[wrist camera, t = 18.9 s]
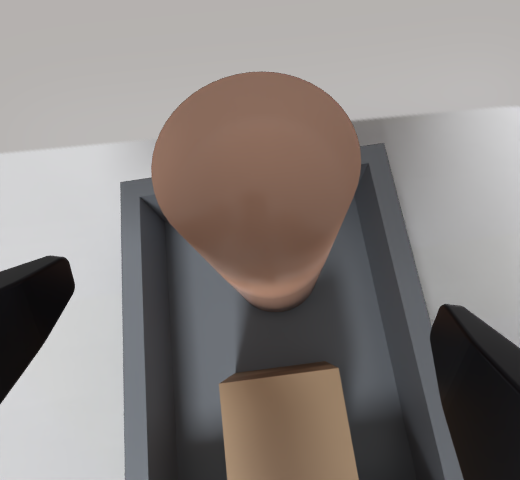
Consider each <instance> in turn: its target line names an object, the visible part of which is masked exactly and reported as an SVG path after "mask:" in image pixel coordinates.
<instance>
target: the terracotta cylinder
mask: <svg viewBox="0 0 520 480" xmlns="http://www.w3.org/2000/svg"><path fill="white" fill-rule="evenodd" d="M151 170H152V183H153V189H154V193H155V196H156V199H157V202H158V204H159V206H160V208H161V210H162V212H163V214H164V216H165V217H166V218H167V220H168V221H169V223H170V224H171V225H172V226H173V227H174V228H175V229H176V230H177V232H178V233H179V234H180V235H181V236H182V237H183V238H184V239H185V240H186V241H187V242H188V243H189V244H190V245H191V246H192V247H193V248H194V249H195V250H196V251H197V252H198V253H199V254H200V255H201V256H202V257H203V258H204V259H205V260H206V261H207V262H208V263H209V264H210V265H211V266H212V267H213V268H214V269H215V270H216V271H217V272H218V273H219V274H220V275H221V276H222V277H223V278H224V279H225V280H226V281H227V282H228V283H229V284H230V285H231V286H232V287H233V288H234V289H235V290H236V291H237V292H238V293H239V294H240V295H241V296H242V297H243V298H244V299H245V300H246V301H247V302H249V303H250V304H251V305H253V306H254V307H256V308H258V309H260V310H263V311H267V312H284V311H288V310H291V309H293V308H295V307H297V306H299V305H300V304H302V303H303V302H304V301H305V300H306V299H307V298H308V297H309V296H310V294H311V293H312V291H313V289H314V287H315V285H316V283H317V280H318V278H319V276H320V273H321V271H322V269H323V266H324V264H325V262H326V259H327V257H328V255H329V253H330V250H331V248H332V246H333V243H334V241H335V239H336V236H337V234H338V232H339V229H340V227H341V225H342V222H343V220H344V218H345V215H346V213H347V211H348V209H349V206H350V204H351V202H352V199H353V197H354V194H355V191H356V189H357V186H358V182H359V177H360V170H361V152H360V146H359V141H358V137H357V134H356V132H355V129H354V127H353V124H352V123H351V121H350V119H349V117H348V116H347V114H346V113H345V112H344V110H343V109H342V108H341V106H340V105H339V104H338V103H337V102H336V101H335V100H334V99H333V98H332V97H331V96H330V95H328V94H327V93H326V92H324V91H323V90H322V89H320V88H318V87H317V86H315V85H313V84H311V83H310V82H307V81H305V80H302V79H300V78H297V77H294V76H290V75H286V74H281V73H274V72H249V73H242V74H236V75H233V76H229V77H225V78H222V79H220V80H217V81H215V82H212V83H210V84H208V85H207V86H205V87H203V88H201V89H199V90H198V91H196V92H195V93H193V94H192V95H191V96H190V97H188V98H187V99H186V100H185V101H184V102H182V103H181V104H180V105H179V107H178V108H177V109H176V110H175V111H174V112H173V113H172V115H171V116H170V117H169V119H168V120H167V121H166V123H165V125H164V127H163V129H162V130H161V132H160V134H159V137H158V139H157V142H156V144H155V148H154V152H153V158H152V166H151Z"/></svg>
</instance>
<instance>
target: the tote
mask: <svg viewBox="0 0 520 480" xmlns="http://www.w3.org/2000/svg"><path fill="white" fill-rule="evenodd" d="M360 152H361V170H360V177H359V182H358V186H357V189H356V191H355V194H354V197H353V199H352V202H351V204H350V206H349V209H348V211H347V213H346V215H345V218H344V220H343V222H342V225H341V227H340V229H339V232H338V234H337V236H336V239H335V241H334V243H333V246H332V248H331V250H330V253H329V255H328V257H327V259H326V262H325V264H324V266H323V269H322V271H321V273H320V276H319V278H318V280H317V283H316V285H315V287H314V289H313V291H312V293H311V294H310V296H309V297H308V298H307V299H306V300H305V301H304V302H303V303H302V304H300V305H299V306H297V307H295V308H293V309H291V310H288V311H284V312H267V311H263V310H260V309H258V308H256V307H254V306H253V305H251V304H250V303H249V302H247V301H246V300H245V299H244V298H243V297H242V296H241V295H240V294H239V293H238V292H237V291H236V290H235V289H234V288H233V287H232V286H231V285H230V284H229V283H228V282H227V281H226V280H225V279H224V278H223V277H222V276H221V275H220V274H219V273H218V272H217V271H216V270H215V269H214V268H213V267H212V266H211V265H210V264H209V263H208V262H207V261H206V260H205V259H204V258H203V257H202V256H201V255H200V254H199V253H198V252H197V251H196V250H195V249H194V248H193V247H192V246H191V245H190V244H189V243H188V242H187V241H186V240H185V239H184V238H183V237H182V236H181V235H180V234H179V233H178V232H177V230H176V229H175V228H174V227H173V226H172V225H171V224H170V223H169V221H168V220H167V218H166V217H165V216H164V214H163V212H162V210H161V208H160V206H159V204H158V202H157V199H156V196H155V193H154V189H153V183H152V178H145V179H139V180H132V181H125V182H120V188H121V252H122V316H123V379H124V443H125V480H227V471H226V459H225V448H224V436H223V425H222V414H221V402H220V391H219V383H221V382H222V381H224V380H225V379H227V378H228V377H230V376H231V375H233V374H234V373H238V372H246V371H254V370H261V369H269V368H277V367H284V366H292V365H300V364H307V363H315V362H322V361H326V362H328V363H330V364H332V365H334V366H336V367H338V368H339V373H340V378H341V384H342V389H343V395H344V401H345V406H346V412H347V417H348V423H349V428H350V434H351V439H352V445H353V451H354V456H355V462H356V467H357V473H358V478H359V480H464V479H463V476H462V472H461V469H460V466H459V462H458V459H457V456H456V452H455V449H454V446H453V442H452V439H451V436H450V432H449V429H448V425H447V422H446V419H445V415H444V412H443V408H442V404H441V399H440V395H439V389H438V383H437V378H436V372H435V366H434V361H433V355H432V349H431V344H430V332H431V329H432V327H431V323H430V319H429V315H428V311H427V307H426V304H425V300H424V296H423V292H422V288H421V284H420V280H419V277H418V273H417V269H416V265H415V261H414V257H413V253H412V250H411V246H410V242H409V238H408V234H407V230H406V226H405V223H404V219H403V215H402V211H401V207H400V203H399V199H398V196H397V192H396V188H395V184H394V180H393V176H392V172H391V169H390V165H389V161H388V157H387V153H386V149H385V145H384V143H380V144H374V145H367V146H360Z"/></svg>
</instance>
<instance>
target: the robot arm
mask: <svg viewBox="0 0 520 480" xmlns="http://www.w3.org/2000/svg"><path fill="white" fill-rule="evenodd" d="M74 289H75V283H74V279H73V275H72V271H71V268H70V264H69V261H68V260H67V259H66V258H64V257H58V256H46V257H43V258H40V259H37V260H34V261H31V262H28V263H25V264H22V265H19V266H16V267H13V268H10V269H7V270H4V271H1V272H0V404H1V403H2V401H3V400H4V398H5V397H6V396H7V394H8V393H9V392H10V390H11V389H12V387H13V386H14V385H15V383H16V382H17V380H18V379H19V378H20V376H21V375H22V374H23V372H24V371H25V369H26V368H27V367H28V365H29V364H30V363H31V361H32V360H33V358H34V357H35V356H36V354H37V353H38V351H39V350H40V348H41V347H42V346H43V344H44V342H45V341H46V339H47V338H48V336H49V334H50V332H51V331H52V329H53V327H54V326H55V324H56V322H57V320H58V319H59V317H60V315H61V314H62V312H63V310H64V308H65V307H66V305H67V303H68V302H69V300H70V298H71V296H72V295H73V292H74ZM430 344H431V349H432V355H433V361H434V366H435V372H436V378H437V383H438V389H439V395H440V399H441V404H442V408H443V412H444V415H445V419H446V422H447V425H448V429H449V432H450V436H451V439H452V442H453V446H454V449H455V452H456V456H457V459H458V462H459V466H460V469H461V472H462V476H463V479H464V480H520V348H519V347H517V346H516V345H515V344H513V343H512V342H511V341H509V340H508V339H507V338H505V337H504V336H502V335H501V334H500V333H498V332H497V331H496V330H494V329H493V328H492V327H490V326H489V325H488V324H486V323H485V322H483V321H482V320H481V319H479V318H478V317H477V316H475V315H474V314H473V313H471V312H470V311H468V310H467V309H466V308H464V307H463V306H458V305H450V304H444V305H442V306H441V307H440V308H439V311H438V313H437V316H436V318H435V321H434V324H433V326H432V329H431V332H430Z"/></svg>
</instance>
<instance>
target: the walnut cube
mask: <svg viewBox="0 0 520 480" xmlns="http://www.w3.org/2000/svg"><path fill="white" fill-rule="evenodd" d="M219 391H220V402H221V414H222V425H223V436H224V448H225V459H226V471H227V480H359V478H358V473H357V467H356V462H355V456H354V451H353V445H352V439H351V434H350V428H349V423H348V417H347V412H346V406H345V401H344V395H343V389H342V384H341V378H340V373H339V368H338V367H336V366H334V365H332V364H330V363H328V362H326V361H322V362H315V363H307V364H300V365H292V366H284V367H277V368H269V369H261V370H254V371H246V372H238V373H234V374H233V375H231V376H230V377H228V378H227V379H225V380H224V381H222V382H221V383H219Z"/></svg>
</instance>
